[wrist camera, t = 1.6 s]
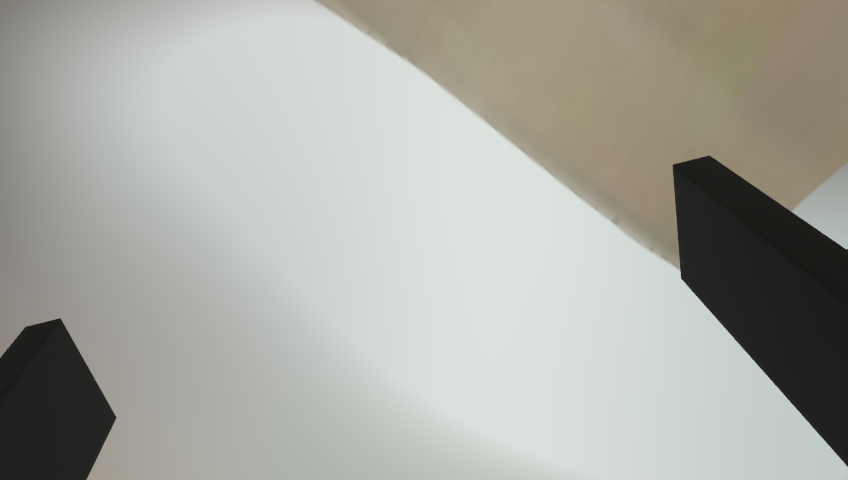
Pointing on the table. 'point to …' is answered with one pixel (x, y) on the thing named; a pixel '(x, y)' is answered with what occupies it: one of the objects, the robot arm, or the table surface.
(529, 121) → the table surface
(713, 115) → the table surface
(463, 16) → the table surface
